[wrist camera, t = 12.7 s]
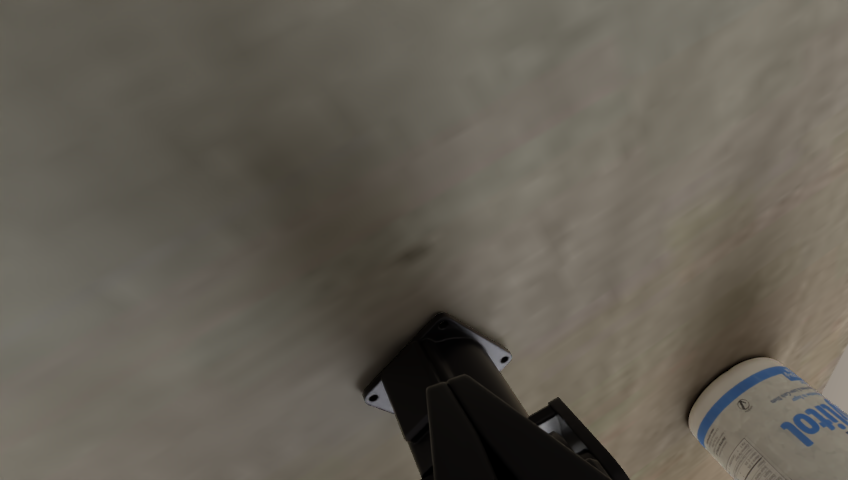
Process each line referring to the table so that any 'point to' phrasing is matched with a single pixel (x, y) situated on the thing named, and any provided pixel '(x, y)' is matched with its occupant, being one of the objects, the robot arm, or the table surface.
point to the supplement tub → (771, 425)
